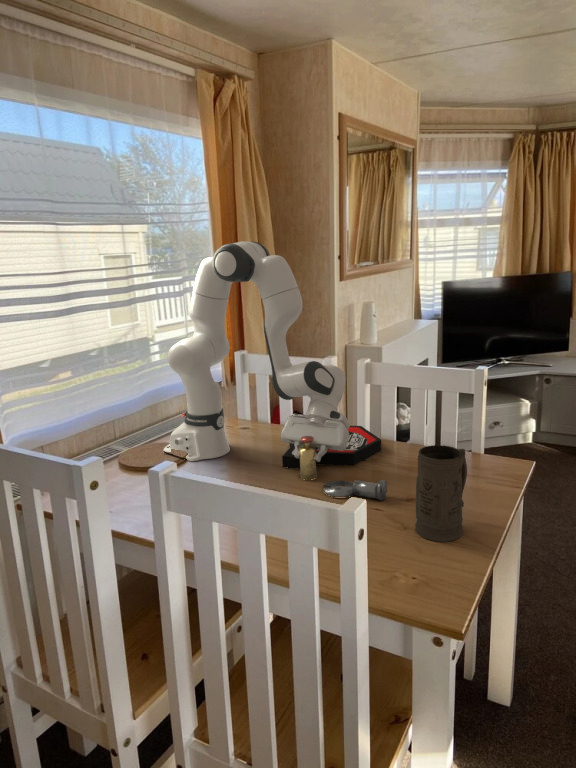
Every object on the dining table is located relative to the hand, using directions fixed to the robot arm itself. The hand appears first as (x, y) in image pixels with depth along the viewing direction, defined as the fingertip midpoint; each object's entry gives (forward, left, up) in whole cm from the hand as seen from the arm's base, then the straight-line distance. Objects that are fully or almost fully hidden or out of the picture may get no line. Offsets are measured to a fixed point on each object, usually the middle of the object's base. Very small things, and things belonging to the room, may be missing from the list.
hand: (306, 459), depth 164 cm
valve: (0, +1, -6) cm, 6 cm away
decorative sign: (-2, +24, -7) cm, 25 cm away
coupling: (+16, -4, -6) cm, 18 cm away
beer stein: (+42, -12, -6) cm, 44 cm away
